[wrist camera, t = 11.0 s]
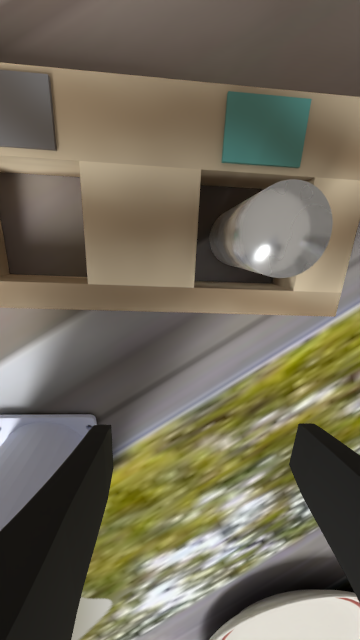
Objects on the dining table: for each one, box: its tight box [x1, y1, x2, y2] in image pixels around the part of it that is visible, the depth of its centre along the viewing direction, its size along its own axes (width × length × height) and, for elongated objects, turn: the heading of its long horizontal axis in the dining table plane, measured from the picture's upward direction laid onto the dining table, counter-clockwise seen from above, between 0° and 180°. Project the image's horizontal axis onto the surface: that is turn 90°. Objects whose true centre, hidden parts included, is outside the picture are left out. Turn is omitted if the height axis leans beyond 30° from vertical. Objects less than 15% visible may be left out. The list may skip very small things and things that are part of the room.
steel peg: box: [209, 179, 333, 278], centre depth 12 cm, size 4×4×7 cm
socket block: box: [0, 63, 360, 316], centre depth 14 cm, size 11×24×3 cm, turn 87°
